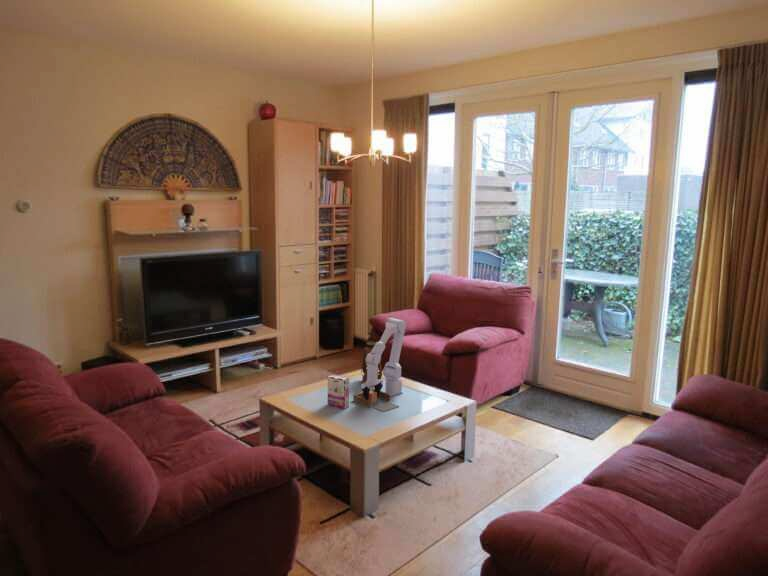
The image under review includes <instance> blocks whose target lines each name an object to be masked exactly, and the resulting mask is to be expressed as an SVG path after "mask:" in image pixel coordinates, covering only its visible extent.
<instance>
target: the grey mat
mask: <svg viewBox="0 0 768 576" xmlns="http://www.w3.org/2000/svg"><path fill="white" fill-rule="evenodd" d="M399 407H400V405H397V404H396V403H393V402H391V401H386V402H384V403H382V404H378V405H374V406H373V407H372V408H373V409H375V410H376V411H380V412H382V413H385V412H388V411H391V410H395V409H398V408H399Z"/></svg>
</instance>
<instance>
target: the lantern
mask: <svg viewBox="0 0 768 576" xmlns="http://www.w3.org/2000/svg"><path fill="white" fill-rule="evenodd" d="M370 337H374V335H373V334H372V335H371V336H370ZM376 343H377V342H375V341H367V342H366V346H365V347H364V349H363V352H362V360H361V365H360V370H361V371H360V373H361V376H362V379H361V381H360V383H361V384H364V383H365V382H366V381H367V367H368V366H367V363H366V360H365V359H366V356H367V354H369V353H371V351H372V349H373V348H374V346H375V344H376ZM382 365H383V364H382V358H381V359H380V362H379V364H378V377H377V380H379V379H381V380H382V377H383V367H382ZM372 387H374V385H373V386H372Z"/></svg>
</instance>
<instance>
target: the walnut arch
mask: <svg viewBox="0 0 768 576" xmlns="http://www.w3.org/2000/svg"><path fill="white" fill-rule="evenodd" d="M370 391H374V392H375V388H372V389H370ZM382 391H383V390H380V393H379V396H378V397H377V398H380V399H382V398H383V400H385V401H386V402H391V396H390V395H389V394H387V393H384V392H382ZM352 396H353V398H352V399H353V402H356V403H357V404H360V405H362V406H364V407H365V408H368V409H369V408H370V407H371V402H370V401H368V400H366V399H365V397H364V393H363V391H360V392H359V393H355V394H353V395H352Z"/></svg>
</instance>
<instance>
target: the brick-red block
mask: <svg viewBox="0 0 768 576" xmlns="http://www.w3.org/2000/svg"><path fill="white" fill-rule="evenodd" d="M368 401H370V404H372V403H375V401H376V402H377V401H378V397H377V392H374V391H369V398H368Z"/></svg>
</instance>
